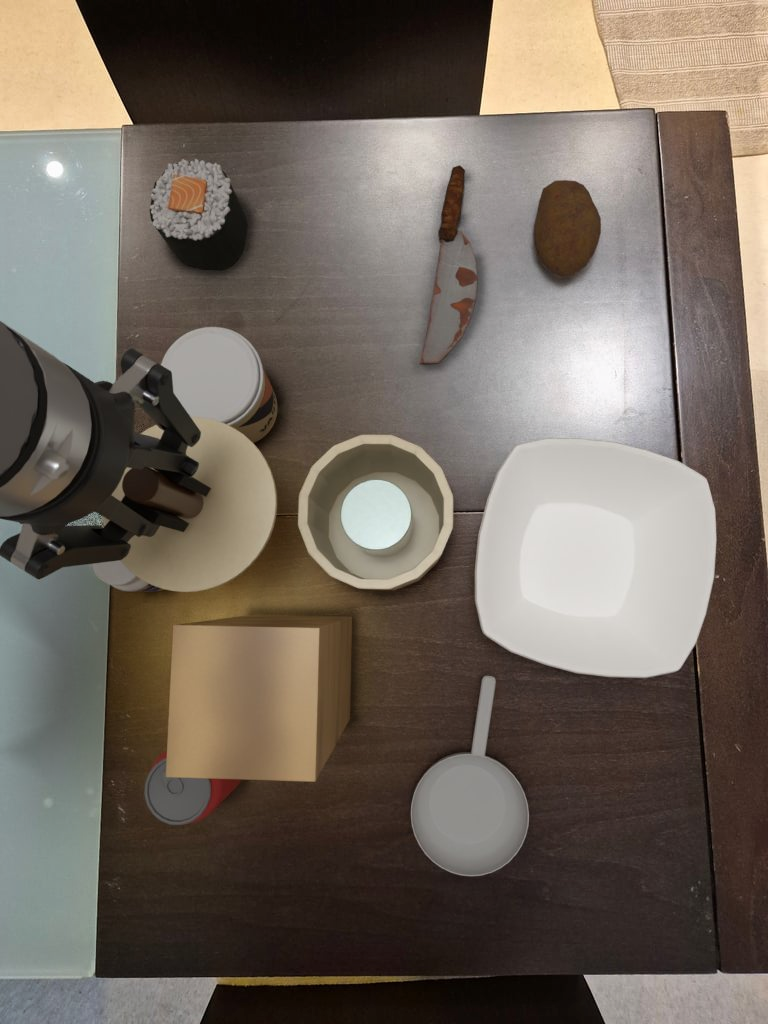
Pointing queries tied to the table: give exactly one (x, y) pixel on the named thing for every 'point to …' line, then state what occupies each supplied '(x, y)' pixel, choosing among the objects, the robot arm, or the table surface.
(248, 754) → the stand
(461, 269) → the kitchen knife
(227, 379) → the coffee cup
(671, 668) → the bowl
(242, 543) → the lid
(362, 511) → the canister
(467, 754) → the small pan
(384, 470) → the pot
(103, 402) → the robot arm
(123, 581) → the pill bottle
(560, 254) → the potato
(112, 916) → the table surface
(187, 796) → the beer can
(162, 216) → the sushi
